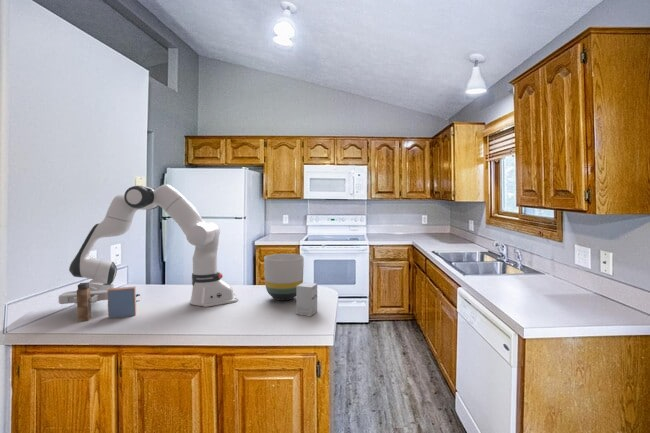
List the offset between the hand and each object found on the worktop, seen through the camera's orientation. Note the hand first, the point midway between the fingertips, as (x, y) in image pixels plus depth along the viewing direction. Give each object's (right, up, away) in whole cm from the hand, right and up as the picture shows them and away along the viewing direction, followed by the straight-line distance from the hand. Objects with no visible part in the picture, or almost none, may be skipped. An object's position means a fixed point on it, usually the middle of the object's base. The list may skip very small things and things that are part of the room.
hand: (83, 300), depth 142 cm
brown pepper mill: (0, -8, +1) cm, 8 cm away
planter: (+79, -7, +30) cm, 85 cm away
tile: (+13, -8, +5) cm, 16 cm away
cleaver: (+6, -7, +24) cm, 26 cm away
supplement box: (+92, -8, +10) cm, 93 cm away
